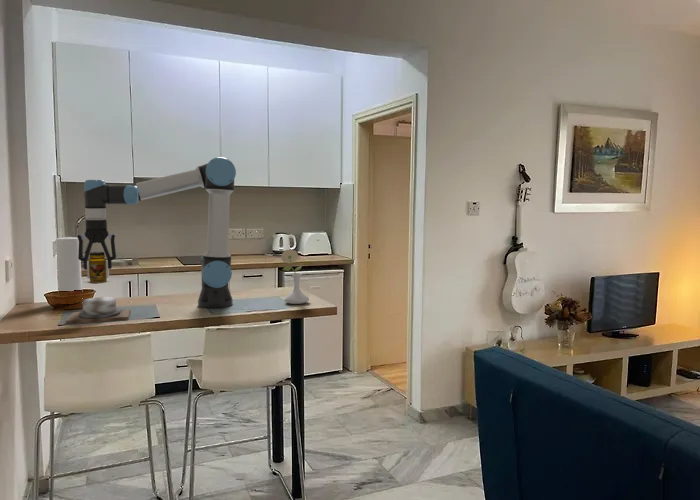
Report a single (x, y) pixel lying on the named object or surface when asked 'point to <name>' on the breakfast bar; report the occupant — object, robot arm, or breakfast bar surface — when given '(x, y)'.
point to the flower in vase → (296, 294)
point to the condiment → (97, 268)
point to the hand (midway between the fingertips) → (98, 277)
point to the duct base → (80, 320)
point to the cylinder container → (68, 264)
